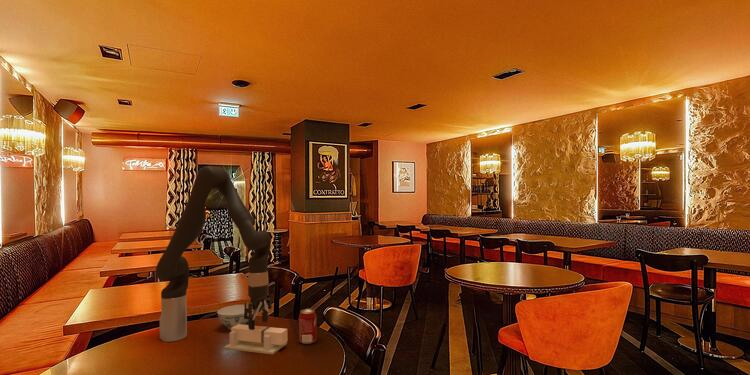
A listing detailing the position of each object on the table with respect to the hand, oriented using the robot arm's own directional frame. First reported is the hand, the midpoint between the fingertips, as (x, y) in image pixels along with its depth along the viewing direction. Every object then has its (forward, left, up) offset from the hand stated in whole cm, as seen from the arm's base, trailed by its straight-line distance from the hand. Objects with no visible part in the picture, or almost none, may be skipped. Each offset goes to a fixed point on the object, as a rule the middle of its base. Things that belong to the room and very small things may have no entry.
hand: (258, 325), depth 145 cm
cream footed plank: (-1, 0, -8) cm, 8 cm away
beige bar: (0, 0, -6) cm, 5 cm away
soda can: (+16, +9, -8) cm, 20 cm away
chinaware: (-23, +16, -8) cm, 29 cm away
